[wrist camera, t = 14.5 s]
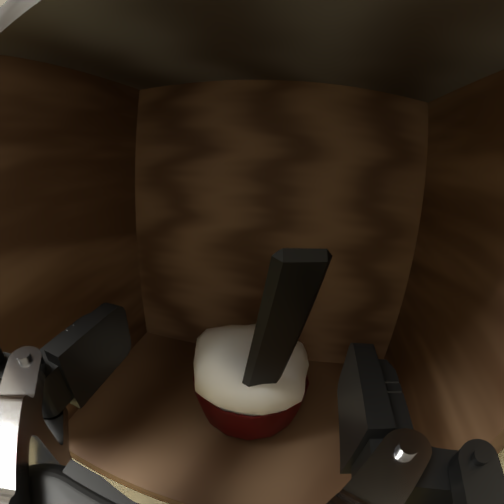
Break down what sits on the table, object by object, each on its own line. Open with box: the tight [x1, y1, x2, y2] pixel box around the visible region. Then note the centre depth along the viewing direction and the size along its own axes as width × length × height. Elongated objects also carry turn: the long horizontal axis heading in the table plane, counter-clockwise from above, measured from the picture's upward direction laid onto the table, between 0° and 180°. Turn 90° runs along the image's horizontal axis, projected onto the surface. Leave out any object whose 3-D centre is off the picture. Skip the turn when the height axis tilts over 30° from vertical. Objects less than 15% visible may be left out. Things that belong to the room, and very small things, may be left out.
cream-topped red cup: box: [193, 248, 332, 440], centre depth 13 cm, size 10×6×12 cm, turn 170°
